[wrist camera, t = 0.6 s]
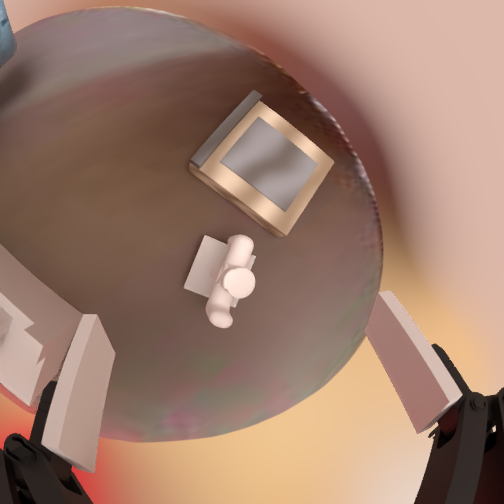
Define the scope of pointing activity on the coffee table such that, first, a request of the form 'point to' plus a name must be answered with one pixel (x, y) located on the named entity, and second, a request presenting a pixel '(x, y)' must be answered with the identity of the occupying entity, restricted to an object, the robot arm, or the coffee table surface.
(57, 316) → the building blocks
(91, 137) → the coffee table surface
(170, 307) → the coffee table surface
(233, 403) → the coffee table surface
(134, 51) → the coffee table surface
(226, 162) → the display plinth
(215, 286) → the figurine
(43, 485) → the robot arm
